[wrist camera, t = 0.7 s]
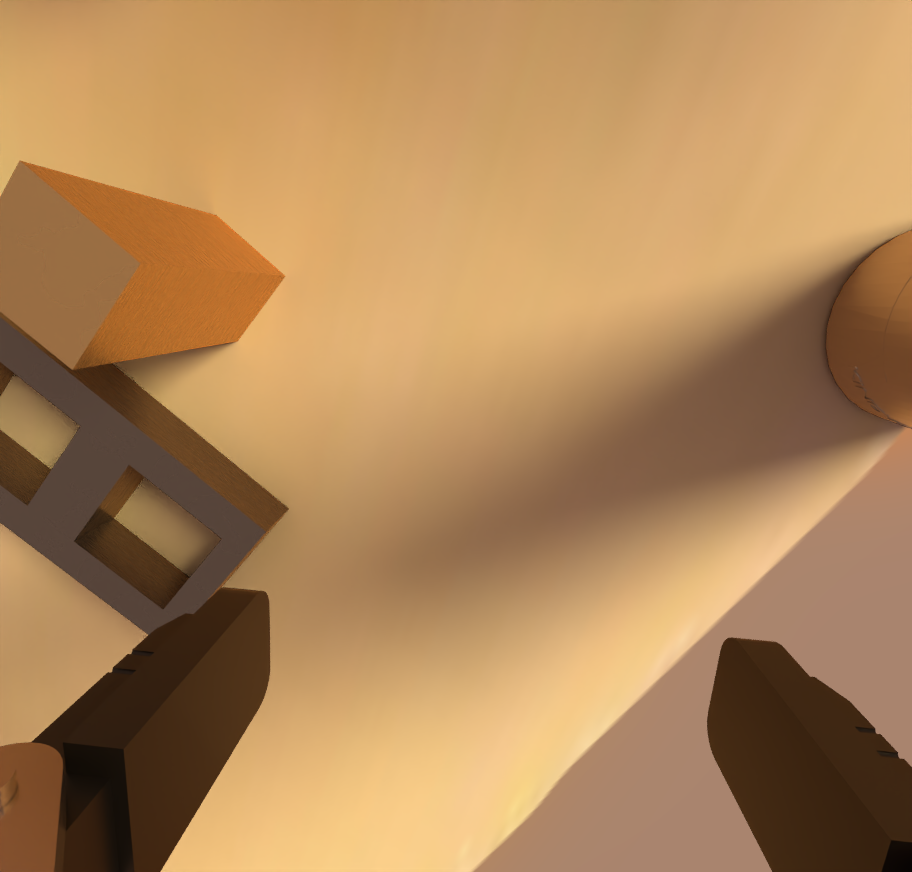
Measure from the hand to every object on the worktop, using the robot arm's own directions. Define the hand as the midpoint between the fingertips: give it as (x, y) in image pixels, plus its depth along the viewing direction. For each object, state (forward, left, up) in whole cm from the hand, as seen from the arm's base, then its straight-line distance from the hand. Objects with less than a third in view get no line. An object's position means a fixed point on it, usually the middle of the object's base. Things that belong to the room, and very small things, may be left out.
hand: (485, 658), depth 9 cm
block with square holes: (+17, -14, -19) cm, 29 cm away
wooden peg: (+4, -15, -19) cm, 25 cm away
